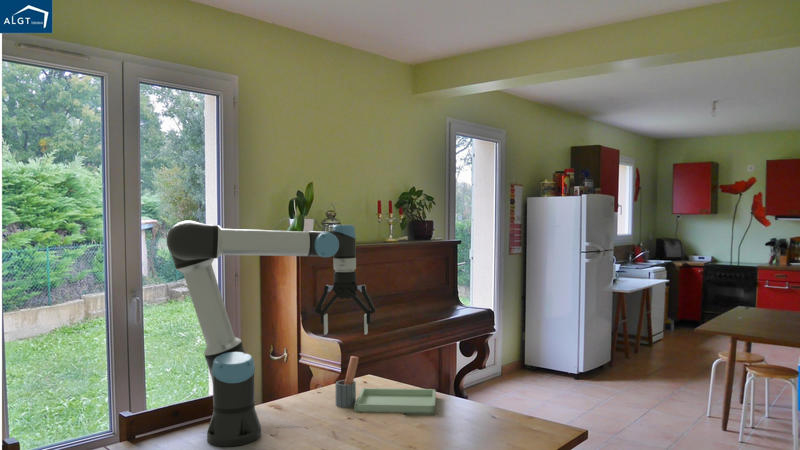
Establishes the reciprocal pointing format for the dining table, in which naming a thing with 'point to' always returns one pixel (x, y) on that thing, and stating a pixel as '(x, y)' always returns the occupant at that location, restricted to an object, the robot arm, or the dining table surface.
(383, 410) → the tray
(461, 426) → the dining table surface
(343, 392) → the cup
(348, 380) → the pin
